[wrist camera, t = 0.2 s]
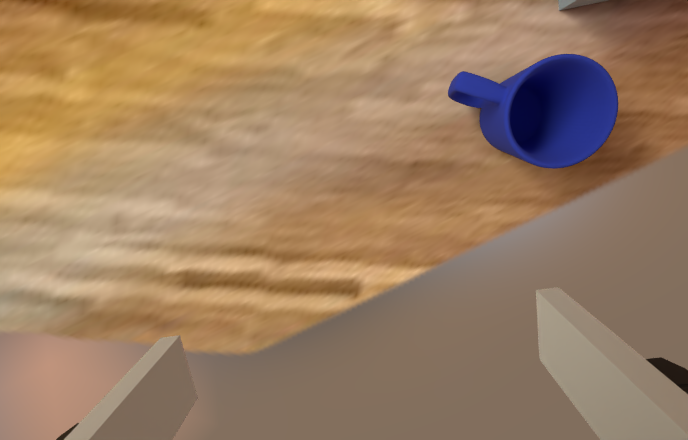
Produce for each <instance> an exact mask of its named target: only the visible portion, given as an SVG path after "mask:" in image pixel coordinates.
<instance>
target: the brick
mask: <svg viewBox="0 0 688 440" xmlns="http://www.w3.org/2000/svg"><path fill="white" fill-rule="evenodd" d="M558 1H559V11H560V10H565V9H569V8H574V7H579V6H584V5H589V4H594V3H598V2H603V1H608V0H558Z"/></svg>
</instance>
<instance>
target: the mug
mask: <svg viewBox="0 0 688 440" xmlns="http://www.w3.org/2000/svg"><path fill="white" fill-rule="evenodd" d="M448 96H449V97H450V98H451V99H452V100H454V101H456V102H459V103H461V104H464V105H467V106H471V107H476V108H481V111H480V127H481V130H482V133H483V135H484V137H485V138H486V140H487V141H488V142H489V143H490V144H491V145H492V146H494V147H495V148H497V149H499V150H501V151H503V152H505V153H508V154H510V155H512V156H515V157H517V158H519V159H522V160H524V161H526V162H528V163H531V164H533V165H536V166H539V167H544V168H564V167H568V166H572V165H574V164H577V163H579V162H581V161H583V160H585V159H587V158H588V157H590V156H591V155H592V154H594V153H595V152H596V151H597V150H598V149H599V148H600V147H601V146H602V145H603V144H604V142H605V141H606V140H607V138H608V137H609V135H610V133H611V131H612V129H613V127H614V124H615V121H616V117H617V112H618V96H617V91H616V87H615V85H614V82H613V80H612V78H611V76H610V75H609V74H608V72H607V71H606V70H605V69H604V68H603V67H602V66H601V65H600V64H598V63H597V62H595V61H594V60H592V59H590V58H587V57H584V56H581V55H575V54H561V55H555V56H551V57H548V58H545V59H543V60H541V61H539V62H537V63H535V64H534V65H532V66H530V67H528V68H526V69H525V70H523V71H521V72H519V73H517V74H516V75H514V76H512V77H510V78H509V79H507V80H505V81H503V82H502V83H500V84H498V83H496V82H494V81H492V80H489V79H486V78H484V77H481V76H478V75H475V74H472V73H468V72H464V71H463V72H460V73H459V74H458V75H457V76H456V77H455V78H454V79H453V80H452V82H451V84H450V87H449V90H448Z"/></svg>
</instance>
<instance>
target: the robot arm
mask: <svg viewBox="0 0 688 440" xmlns="http://www.w3.org/2000/svg"><path fill="white" fill-rule="evenodd" d="M536 301H537V319H538V338H539V355H540V356H539V357H540V360H541V362H542V363H543V364H544V366H545V367H546V368H547V370H548V371H549V372H550V374H551V375H552V376H553V378H554V379H555V380H556V381H557V383H558V384H559V386H560V387H561V388H562V390H563V391H564V392H565V393H566V395H567V396H568V398H569V399H570V400H571V402H573V404H574V406H575V407H576V408H577V409H578V411H579V412H580V413H581V415H582V416H583V417H584V419H585V420H586V421H587V422H588V424H589V425H590V427H591V428H592V429H593V431H594V432H595V433H596V435H597V436H598V437H599V438H600V440H688V370H686V369H685V368H683V367H681V366H678V365H676V364H674V363H672V362H670V361H668V360H665V359H663V358H652V359H644V358H643V357H642V356H641V355H639V354H638V353H637V352H636V351H635V350H634V349H632V348H631V347H630V346H629V345H627V344H626V343H625V342H624V341H623V340H622V339H620V338H619V337H618V336H617V335H616V334H614V333H613V332H612V331H611V330H609V329H608V328H607V327H606V326H605V325H603V324H602V323H601V322H600V321H599V320H597V319H596V318H595V317H594V316H592V315H591V314H590V313H589V312H588V311H587V310H585V309H584V308H583V307H582V306H580V305H579V304H578V303H577V302H576V301H575V300H573V299H572V298H571V297H570V296H568V295H567V294H566V293H565V292H564V291H562V290H561V289H560V288H559V287H556V288H548V289H540V290H536ZM197 398H198V397H197V394H196V390H195V387H194V383H193V380H192V376H191V373H190V369H189V366H188V362H187V359H186V355H185V352H184V348H183V345H182V341H181V338H180V335H179V336H171V337H164V338H160V339H159V340H158V341H157V342H156V343H155V344H154V345H153V346H152V347H151V349H150V350H149V351H148V352H147V353H146V354H145V355H144V356H143V357H142V358H141V359H140V360H139V361H138V362H137V363H136V364H135V365H134V366H133V367H132V369H131V370H130V371H129V372H128V373H127V374H126V375H125V376H124V377H123V378H122V379H121V380H120V381H119V382H118V383H117V384H116V385H115V386H114V387H113V388H112V390H111V391H110V392H109V393H108V394H107V395H106V396H105V397H104V398H103V399H102V400H101V401H100V402H99V403H98V404H97V405H96V406H95V407H94V409H92V411H91V412H90V413H89V414H88V415H87V416H86V417H85V418H84V419H83V420H82V421H81V422H80V423H77V424H76V425H75V426H73V427H72V428H70V429H69V430H68V431H66V432H65V433H64V434H62V435H61V436H60V437H58V438H57V439H56V440H172V439H173V438H174V436H175V435H176V433H177V431H178V429H179V428H180V426H181V425H182V423H183V421H184V420H185V418H186V416H187V415H188V413H189V411H190V410H191V408H192V406H193V405H194V403H195V401H196V400H197Z"/></svg>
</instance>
